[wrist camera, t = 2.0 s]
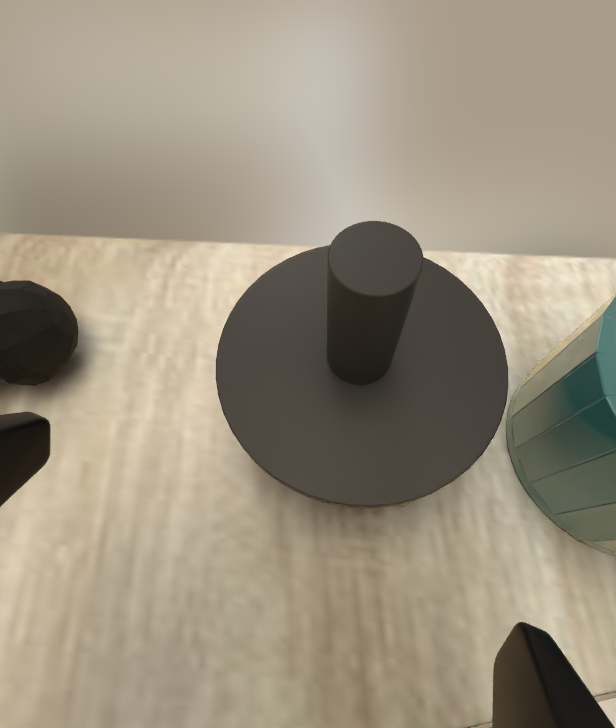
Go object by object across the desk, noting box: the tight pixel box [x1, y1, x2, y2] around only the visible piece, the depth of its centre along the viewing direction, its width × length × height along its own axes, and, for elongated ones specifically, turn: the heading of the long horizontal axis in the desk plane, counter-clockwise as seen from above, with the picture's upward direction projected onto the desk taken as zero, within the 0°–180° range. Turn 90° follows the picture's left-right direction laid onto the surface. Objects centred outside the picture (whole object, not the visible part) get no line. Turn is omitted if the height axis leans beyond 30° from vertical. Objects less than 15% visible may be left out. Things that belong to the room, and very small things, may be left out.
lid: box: [216, 221, 508, 508], centre depth 14 cm, size 12×12×6 cm
